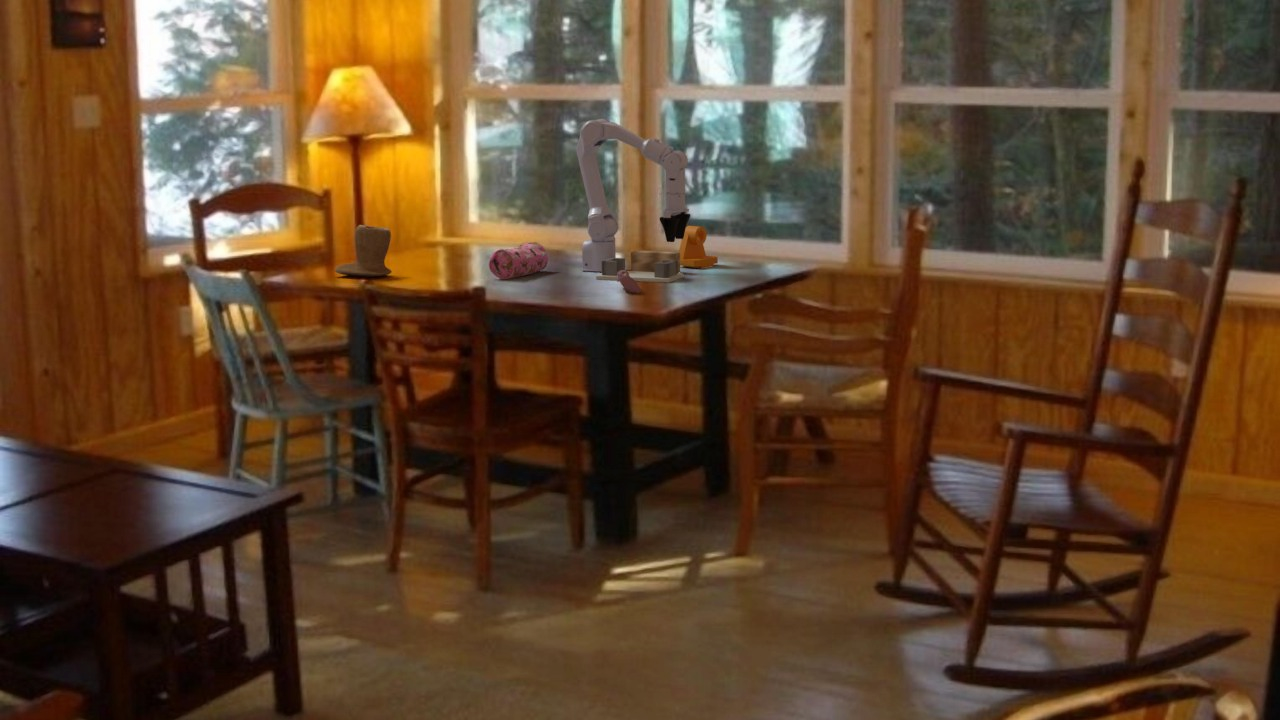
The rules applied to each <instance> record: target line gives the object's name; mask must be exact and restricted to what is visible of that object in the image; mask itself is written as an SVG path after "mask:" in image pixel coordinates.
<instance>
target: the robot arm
mask: <svg viewBox="0 0 1280 720" xmlns="http://www.w3.org/2000/svg"><path fill="white" fill-rule="evenodd" d="M608 140H618V141H619V142H622V143H624V144H626V145H629V146H631V147H633V148H635V149H637V150H640V152H641V155H642V157H644V158H645V159H647V160H650V161H651V162H653V163H656V164H657V165H659V166H662V168H663V169H664V171H665V178H664V179H665V181H664V183H665V184H664V186H665V187H664V189H665V191H664V192H665V193H664V194H665V196H664V197H665V200H664V202H665V203H664V210H663V211H662V212H663V216H660V217H659V221H660V224H661V226H662V228H663V230H664V234H665V240H666V242H667V243H674V242H675V241H676V240H682V239H683V238H684V233H685V229H686V227H687V226H688V222H689V220H690V218H691V214H690V213H688V212H690V208H688V206H686V169H685V168H687V165H688V162H689V161H688V160H689V159H688V156H687V155H686V153H685V152H683V151H682V150H678V149H677V150H674V148H675V147H673V146H667V145H665V144H663V143H662V142H660V139H659V138H656V137H655V138H648V139H645V138H643V137H641V136H639V135H637V134H635V133H634V132H632V131H630V130H629V129H627V128H625V127H623V125H620V124H618V123H617V122H615V121H610V120H609V119H607V118H599V119H590V120H588V121H586V122H585V123H584V125H582V127H581V128H580V129H579V139H578V142H577V145H576V156H577V159H578V160H577V161H578V165H579V169H580V173H581V178H582V182H583V185H584V190H585V196H586V199H587V203H588V204H587V205H588V208H589V211H588V214H587V220H588V225H587V233H588V236H589V237H590V239H585V240H584V242H583V243H582V248H581V252H582V253H581V254H582V255H581V258H582V262H581V263H582V266H581V267H582V269H581V271H582V272H598V273H599V272H601V273H602V261H604V260H607V259H610V258H617V257H616V255H617V254H616V237H615V235H616V234H617V232H618V229H619V224H618V221H617V220H616V218H615V217H614V215H613V212H612V210H611V209H610V208H609V206H608V204H607V203H608V202H607V197H606V194H605V189H604V185H603V181H602V177H601V173H600V169H599V164H598V159H597V152H598V150H599V148H600V147H601V146H602V145H603V144H604V143H606V141H608Z"/></svg>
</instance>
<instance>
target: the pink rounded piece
mask: <svg viewBox="0 0 1280 720" xmlns="http://www.w3.org/2000/svg"><path fill="white" fill-rule="evenodd" d="M628 271H629V270H626V269H625V270H621V271H619V272H618V273H617V275H618V279H617V280H616V282H617V283H619V282H620V285H622V290H623V291H625V293H628V292H630V293H633V294H639V293H640V292H641V287H640V286H639V284H638V281H635V280H634V279H632V278H631V277H630V276H629V273H628Z"/></svg>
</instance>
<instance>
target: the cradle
mask: <svg viewBox="0 0 1280 720" xmlns="http://www.w3.org/2000/svg"><path fill="white" fill-rule="evenodd" d="M654 269H655V272H639V271H631V270H627V271H628V273H629V276H630V277H631V278H632V279H634V280H635V281H636V282H643V283H645V282H646V283H647V282H648V283H672V282H674V281H676V280H680V279H681V278H684V273H683V272H680V273H678V271H677V260H662V263H654ZM621 270H626V258H625V257H616V258H610V259H607V260H604V261H602V272H601V273H600V274H597V275H596V276H595V280H600V281H601V280H602V281H617V279H618V275H617V273H618V272H619V271H621Z"/></svg>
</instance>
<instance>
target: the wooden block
mask: <svg viewBox="0 0 1280 720" xmlns="http://www.w3.org/2000/svg"><path fill="white" fill-rule="evenodd" d="M662 260H677V271H678V273H679V272H680V273H681V265H680V252H679V251H676V252H675V251H674V252H673V251H652V250H651V251H649V250H634V251H631V252H630V271H639V272H655V269H654V263H662Z"/></svg>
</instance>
